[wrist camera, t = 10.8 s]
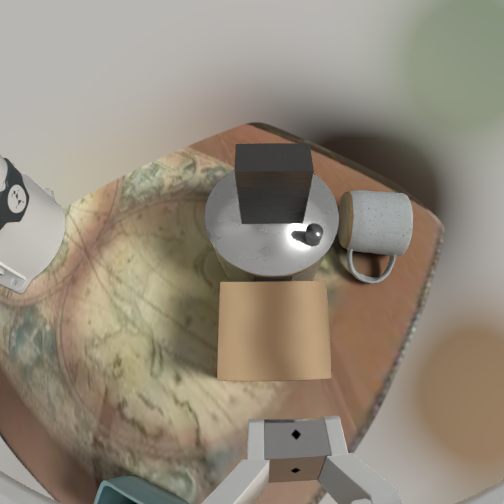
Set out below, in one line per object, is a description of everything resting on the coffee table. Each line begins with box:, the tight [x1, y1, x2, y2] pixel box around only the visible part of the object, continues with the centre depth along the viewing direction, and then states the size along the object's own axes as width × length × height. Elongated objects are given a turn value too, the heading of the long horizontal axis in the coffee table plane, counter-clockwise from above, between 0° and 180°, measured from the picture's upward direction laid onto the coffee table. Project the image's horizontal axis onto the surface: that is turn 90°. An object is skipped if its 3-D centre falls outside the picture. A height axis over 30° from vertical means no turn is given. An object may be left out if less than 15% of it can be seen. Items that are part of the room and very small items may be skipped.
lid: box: [204, 144, 339, 278], centre depth 27 cm, size 14×14×9 cm
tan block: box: [217, 281, 331, 381], centre depth 30 cm, size 10×9×7 cm
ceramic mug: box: [338, 190, 413, 283], centre depth 34 cm, size 11×8×8 cm
